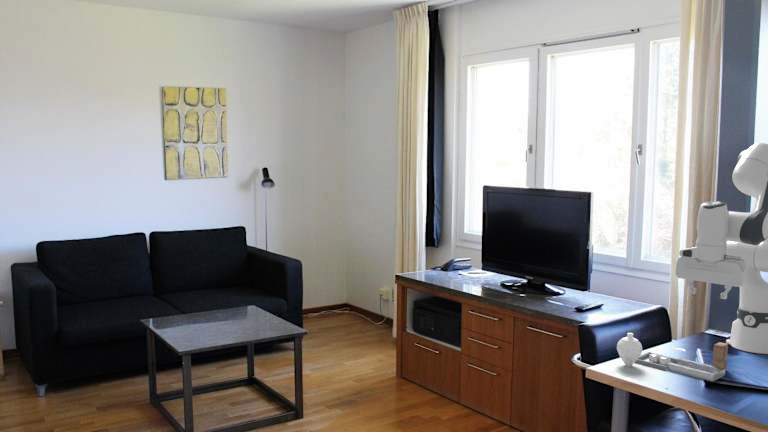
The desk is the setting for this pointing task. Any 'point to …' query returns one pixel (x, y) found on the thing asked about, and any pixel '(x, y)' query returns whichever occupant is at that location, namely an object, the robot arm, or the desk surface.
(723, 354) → the tan long rectangular block
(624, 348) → the white vase
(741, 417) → the desk surface
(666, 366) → the tray
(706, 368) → the slot block
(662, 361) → the silver metal ball
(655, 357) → the shiny gray ball
